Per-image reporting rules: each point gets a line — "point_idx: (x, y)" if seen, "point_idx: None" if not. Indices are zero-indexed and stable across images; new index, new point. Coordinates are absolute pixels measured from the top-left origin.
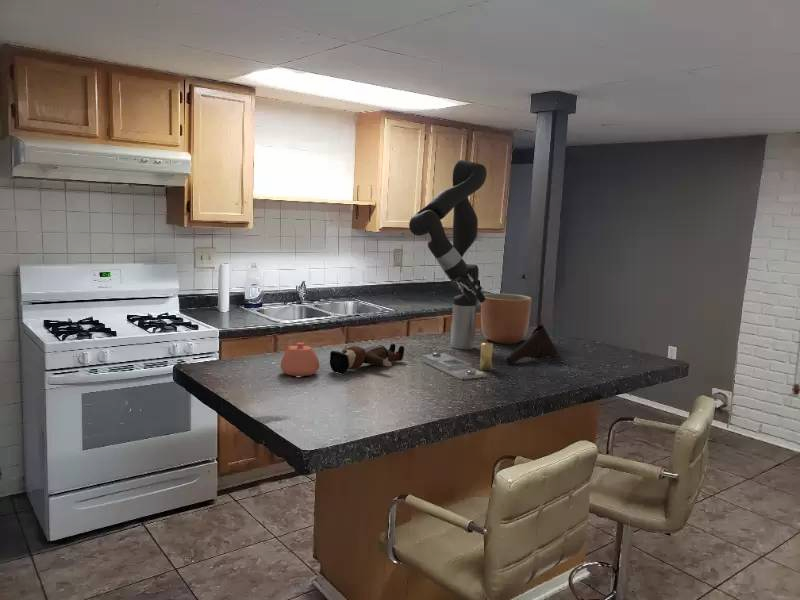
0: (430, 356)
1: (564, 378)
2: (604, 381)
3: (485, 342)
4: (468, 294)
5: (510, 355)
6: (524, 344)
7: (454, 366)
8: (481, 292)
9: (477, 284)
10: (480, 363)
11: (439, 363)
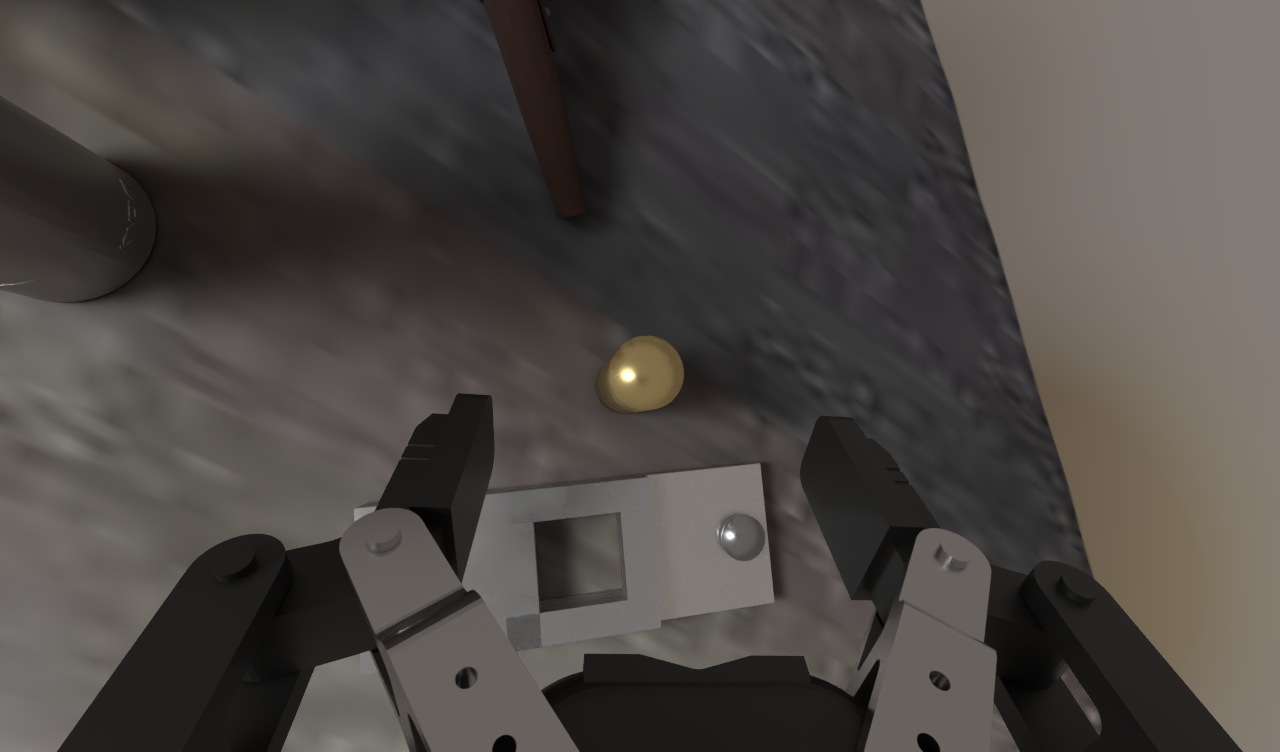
0: None
1: (844, 141)
2: (913, 25)
3: (612, 362)
4: (474, 508)
5: (563, 188)
6: (541, 53)
7: (657, 587)
8: (902, 498)
9: (1159, 715)
10: (623, 412)
11: (572, 640)
